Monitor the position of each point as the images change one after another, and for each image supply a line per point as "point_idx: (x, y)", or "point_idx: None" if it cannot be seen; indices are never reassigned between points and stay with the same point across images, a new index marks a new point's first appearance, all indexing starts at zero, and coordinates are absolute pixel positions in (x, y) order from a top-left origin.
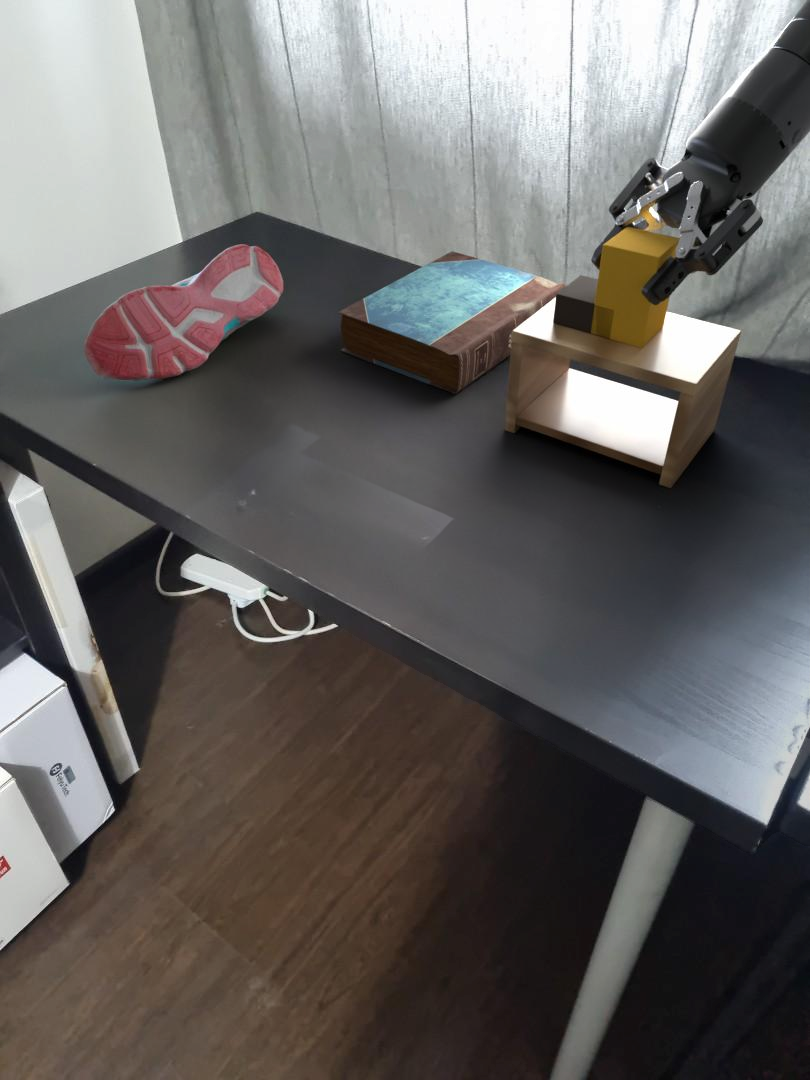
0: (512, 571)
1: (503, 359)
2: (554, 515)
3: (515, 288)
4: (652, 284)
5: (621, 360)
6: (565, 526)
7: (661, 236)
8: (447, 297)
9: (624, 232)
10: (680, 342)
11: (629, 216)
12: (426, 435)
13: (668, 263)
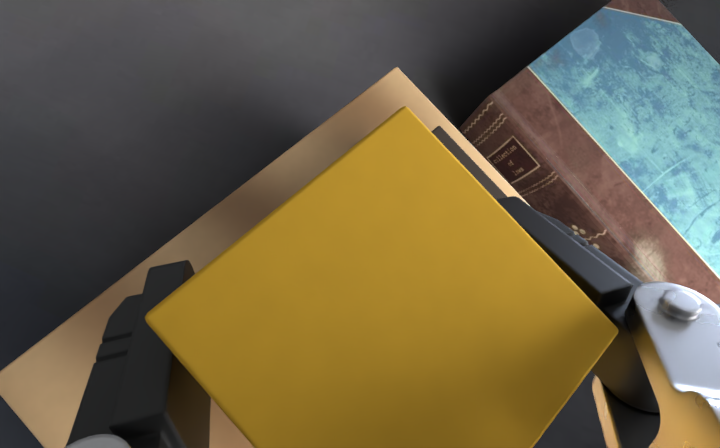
0: (39, 62)
1: None
2: (133, 154)
3: (717, 272)
4: (145, 288)
5: (189, 238)
6: (103, 159)
7: None
8: (682, 144)
9: (542, 279)
10: (233, 442)
11: (680, 343)
12: (366, 63)
13: (135, 381)
